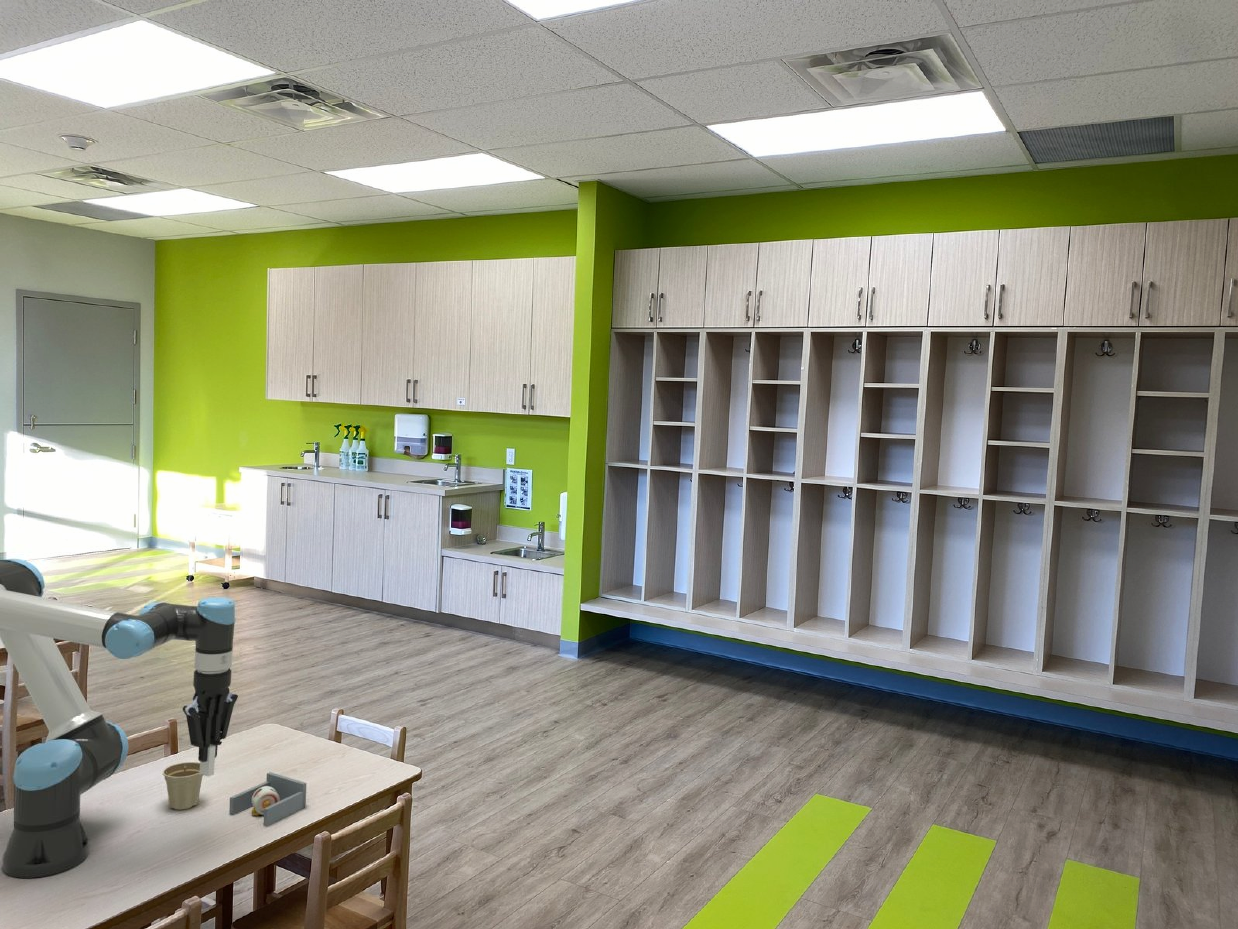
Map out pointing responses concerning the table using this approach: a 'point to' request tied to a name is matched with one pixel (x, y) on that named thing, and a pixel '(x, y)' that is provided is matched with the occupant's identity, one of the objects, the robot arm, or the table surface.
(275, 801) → the roller toy
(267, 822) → the bin
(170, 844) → the table surface
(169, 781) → the flower pot
